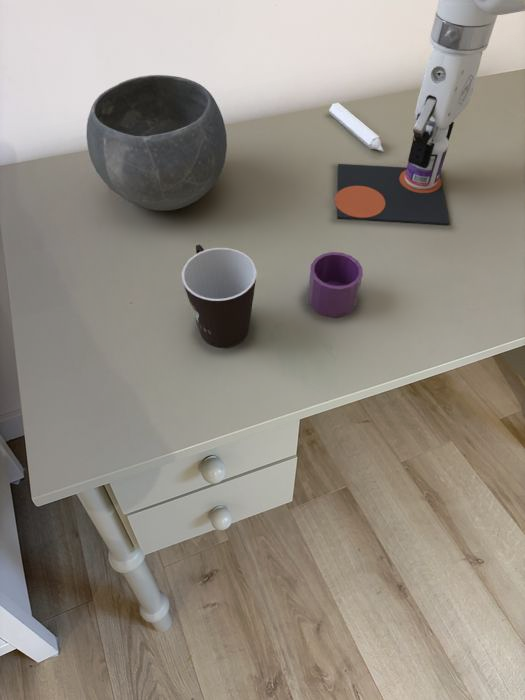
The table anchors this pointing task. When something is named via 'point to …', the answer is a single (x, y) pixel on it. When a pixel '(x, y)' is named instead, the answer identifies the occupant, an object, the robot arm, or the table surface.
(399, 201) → the placemat
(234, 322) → the coffee mug
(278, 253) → the table surface
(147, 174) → the bowl
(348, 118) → the white pencil
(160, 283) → the table surface
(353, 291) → the cup
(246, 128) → the table surface
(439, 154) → the pill bottle
